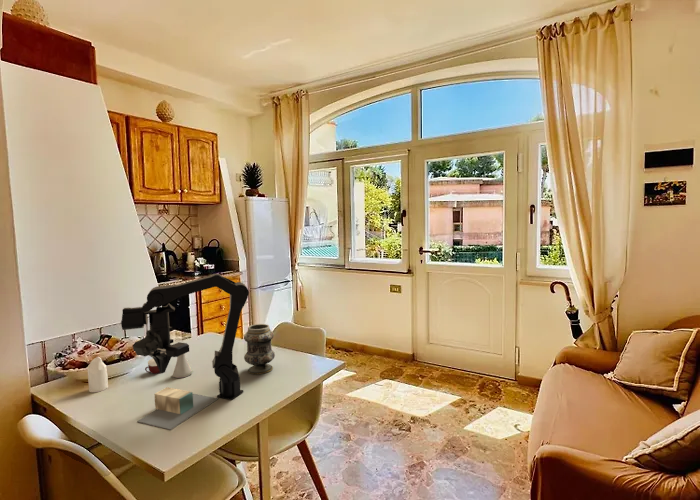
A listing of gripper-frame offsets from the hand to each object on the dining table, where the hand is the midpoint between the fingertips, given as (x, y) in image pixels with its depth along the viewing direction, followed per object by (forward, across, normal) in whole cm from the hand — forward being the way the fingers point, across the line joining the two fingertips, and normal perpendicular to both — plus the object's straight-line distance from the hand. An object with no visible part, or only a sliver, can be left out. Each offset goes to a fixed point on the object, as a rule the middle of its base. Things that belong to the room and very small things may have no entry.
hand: (162, 372), depth 123 cm
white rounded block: (+12, -35, +2) cm, 37 cm away
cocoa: (+12, -27, +21) cm, 36 cm away
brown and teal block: (+9, -1, 0) cm, 9 cm away
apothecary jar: (+12, +12, +36) cm, 40 cm away
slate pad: (+12, +6, 0) cm, 13 cm away
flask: (+12, -15, +22) cm, 29 cm away
